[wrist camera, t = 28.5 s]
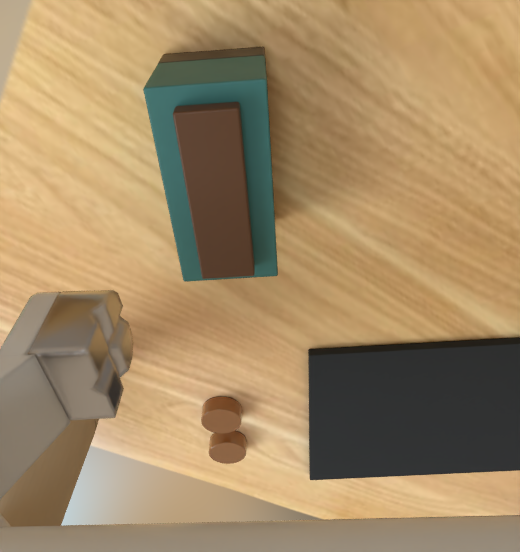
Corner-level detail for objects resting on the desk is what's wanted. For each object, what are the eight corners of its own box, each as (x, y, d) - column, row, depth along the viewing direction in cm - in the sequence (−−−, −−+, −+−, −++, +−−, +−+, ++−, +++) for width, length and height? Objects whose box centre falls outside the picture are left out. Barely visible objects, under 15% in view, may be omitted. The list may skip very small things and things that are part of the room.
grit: (243, 428, 38) (243, 441, 37) (248, 449, 40) (248, 462, 39) (206, 431, 39) (205, 444, 38) (213, 452, 40) (212, 465, 39)
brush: (264, 46, 21) (267, 85, 17) (274, 221, 27) (278, 287, 22) (163, 53, 21) (138, 94, 17) (193, 226, 27) (181, 293, 22)
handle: (43, 369, 34) (-70, 619, 22) (64, 308, 30) (-58, 566, 18) (110, 388, 35) (37, 634, 23) (137, 332, 32) (68, 587, 20)
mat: (666, 329, 32) (673, 335, 32) (584, 460, 42) (588, 467, 41) (308, 349, 33) (309, 355, 32) (309, 474, 43) (310, 480, 42)
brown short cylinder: (240, 395, 36) (240, 409, 35) (242, 420, 38) (242, 433, 37) (200, 396, 36) (199, 410, 35) (204, 421, 38) (203, 434, 37)
